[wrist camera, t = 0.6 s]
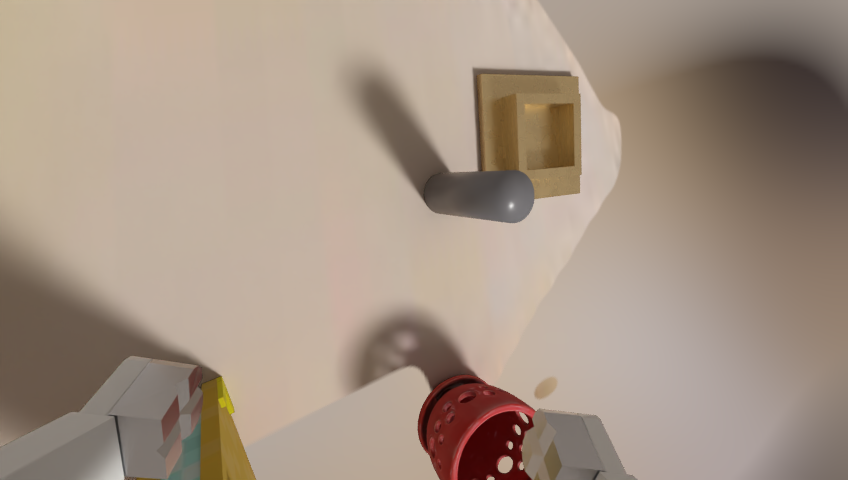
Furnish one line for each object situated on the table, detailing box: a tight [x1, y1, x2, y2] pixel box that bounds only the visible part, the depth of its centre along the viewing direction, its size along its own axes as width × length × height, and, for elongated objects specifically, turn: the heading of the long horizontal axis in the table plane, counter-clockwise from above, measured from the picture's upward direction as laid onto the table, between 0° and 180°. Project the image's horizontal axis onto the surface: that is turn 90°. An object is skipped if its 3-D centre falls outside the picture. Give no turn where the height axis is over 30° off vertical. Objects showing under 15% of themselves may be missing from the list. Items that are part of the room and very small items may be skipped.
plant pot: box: [418, 375, 536, 480], centre depth 53 cm, size 13×13×12 cm
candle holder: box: [477, 74, 581, 199], centre depth 57 cm, size 16×16×4 cm
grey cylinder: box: [424, 170, 534, 223], centre depth 47 cm, size 5×5×14 cm
